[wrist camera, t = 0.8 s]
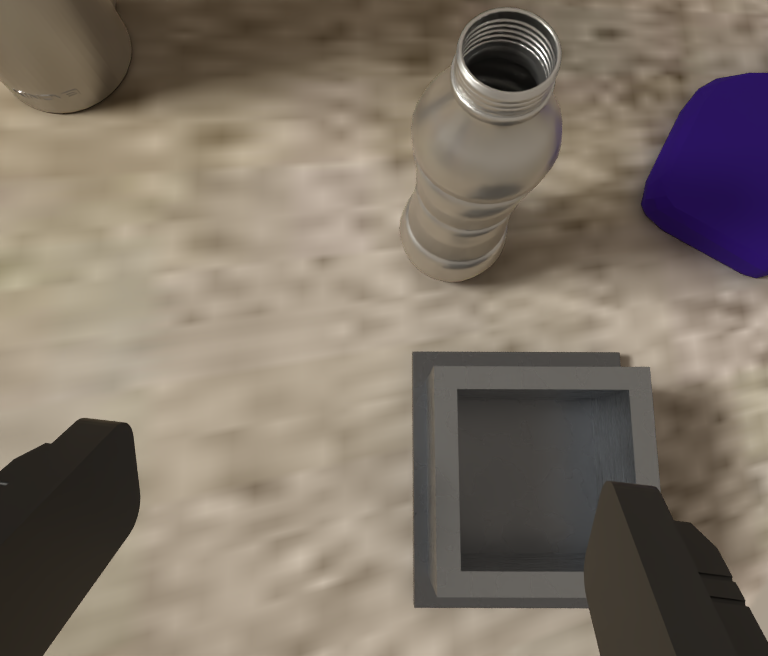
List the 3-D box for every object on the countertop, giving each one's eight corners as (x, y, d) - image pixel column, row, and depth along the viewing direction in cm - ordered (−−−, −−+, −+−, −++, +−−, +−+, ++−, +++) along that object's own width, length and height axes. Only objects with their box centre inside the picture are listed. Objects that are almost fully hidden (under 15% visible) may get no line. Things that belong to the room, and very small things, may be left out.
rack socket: (412, 354, 40) (418, 332, 33) (613, 355, 40) (661, 333, 33) (413, 603, 37) (420, 637, 30) (632, 604, 37) (689, 637, 30)
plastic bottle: (409, 189, 42) (433, -45, 22) (507, 210, 42) (617, -9, 22) (388, 278, 41) (395, 111, 21) (489, 300, 40) (590, 151, 21)
